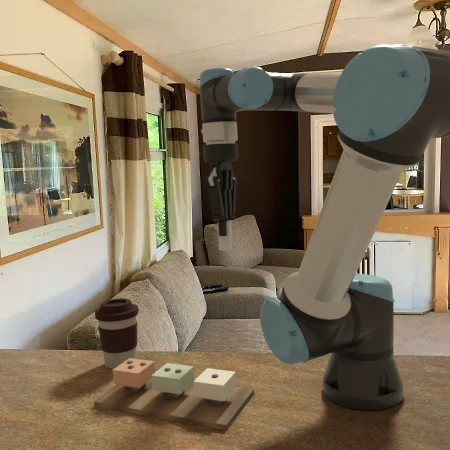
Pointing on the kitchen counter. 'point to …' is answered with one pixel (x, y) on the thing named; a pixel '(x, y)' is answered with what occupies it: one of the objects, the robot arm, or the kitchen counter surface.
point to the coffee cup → (117, 330)
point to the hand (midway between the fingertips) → (225, 249)
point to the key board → (176, 405)
